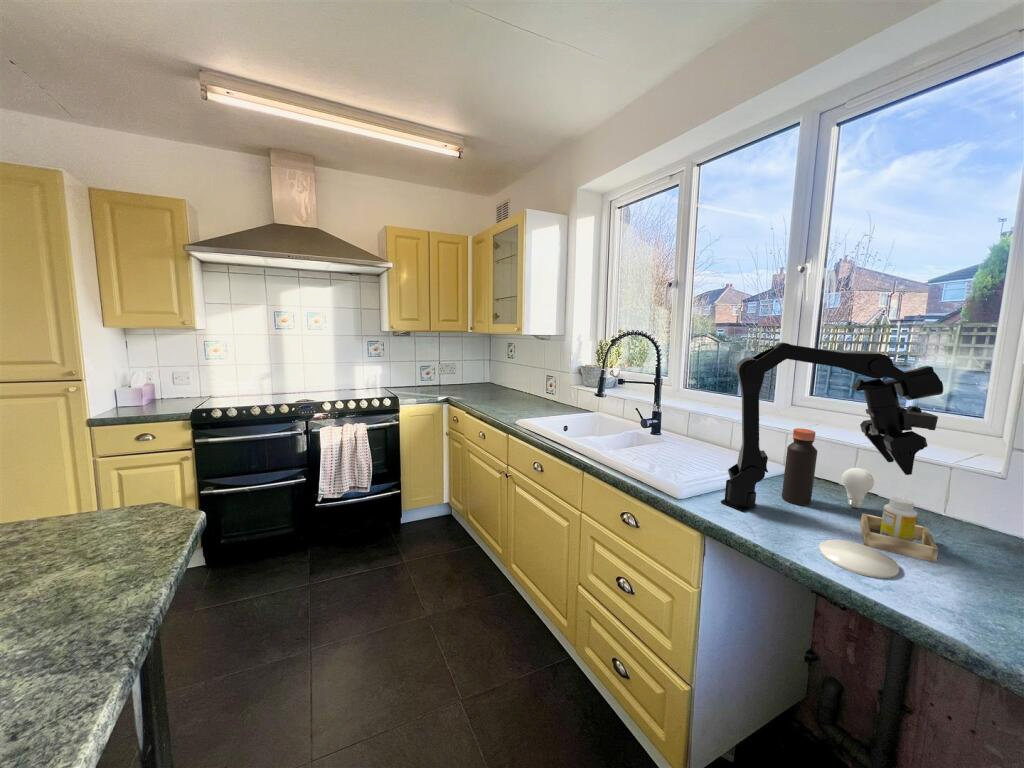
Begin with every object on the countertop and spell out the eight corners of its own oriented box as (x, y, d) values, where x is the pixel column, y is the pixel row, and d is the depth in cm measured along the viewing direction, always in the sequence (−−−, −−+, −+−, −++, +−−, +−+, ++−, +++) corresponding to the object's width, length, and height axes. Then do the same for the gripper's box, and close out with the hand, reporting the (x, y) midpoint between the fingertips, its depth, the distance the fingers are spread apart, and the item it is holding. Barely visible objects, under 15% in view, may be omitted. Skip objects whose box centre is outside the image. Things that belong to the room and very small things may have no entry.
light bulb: (872, 515, 109) (878, 474, 107) (839, 509, 113) (845, 469, 111) (867, 506, 115) (873, 467, 113) (836, 500, 118) (842, 462, 116)
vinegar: (810, 499, 119) (819, 429, 116) (811, 508, 113) (820, 435, 110) (781, 493, 122) (789, 426, 119) (781, 501, 117) (789, 431, 114)
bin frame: (864, 544, 95) (865, 532, 94) (860, 524, 104) (862, 513, 104) (935, 562, 88) (938, 549, 88) (925, 539, 97) (927, 527, 97)
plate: (807, 552, 91) (807, 549, 91) (836, 537, 98) (836, 534, 98) (882, 585, 80) (882, 581, 80) (909, 566, 87) (910, 562, 87)
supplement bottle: (913, 543, 96) (921, 500, 94) (909, 551, 92) (916, 507, 91) (881, 533, 100) (888, 492, 98) (876, 541, 97) (882, 498, 95)
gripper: (950, 404, 88) (968, 476, 88) (907, 390, 105) (922, 450, 105) (883, 415, 92) (901, 484, 93) (853, 400, 109) (868, 458, 110)
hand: (899, 468), depth 100 cm, fingers open, 9 cm apart
